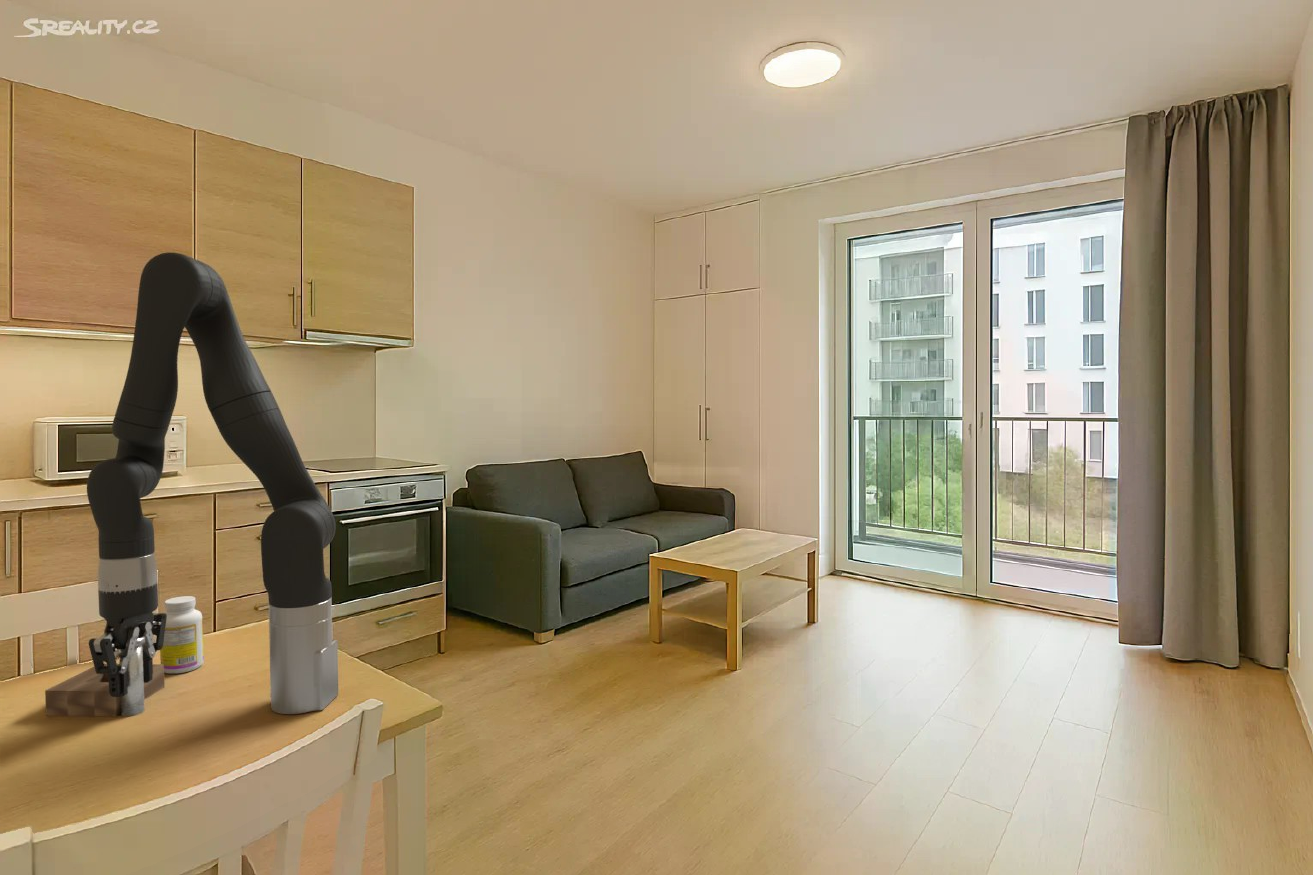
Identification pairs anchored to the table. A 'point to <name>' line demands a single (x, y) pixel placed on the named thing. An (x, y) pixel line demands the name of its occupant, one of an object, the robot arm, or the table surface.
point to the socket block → (93, 694)
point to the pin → (134, 682)
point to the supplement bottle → (182, 636)
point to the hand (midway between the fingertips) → (132, 688)
